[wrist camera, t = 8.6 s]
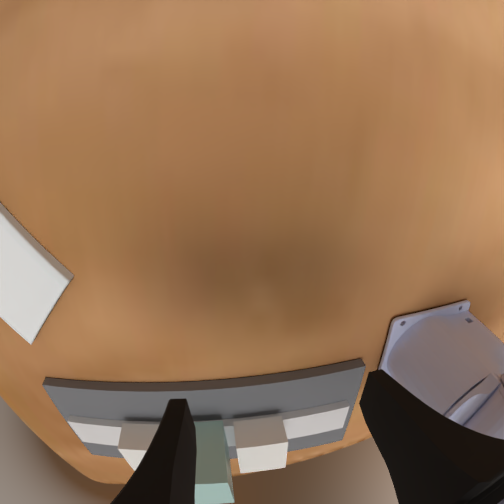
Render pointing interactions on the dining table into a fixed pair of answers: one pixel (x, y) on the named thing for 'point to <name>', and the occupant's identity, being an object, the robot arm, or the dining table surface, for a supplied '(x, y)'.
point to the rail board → (216, 412)
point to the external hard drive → (27, 278)
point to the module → (212, 464)
